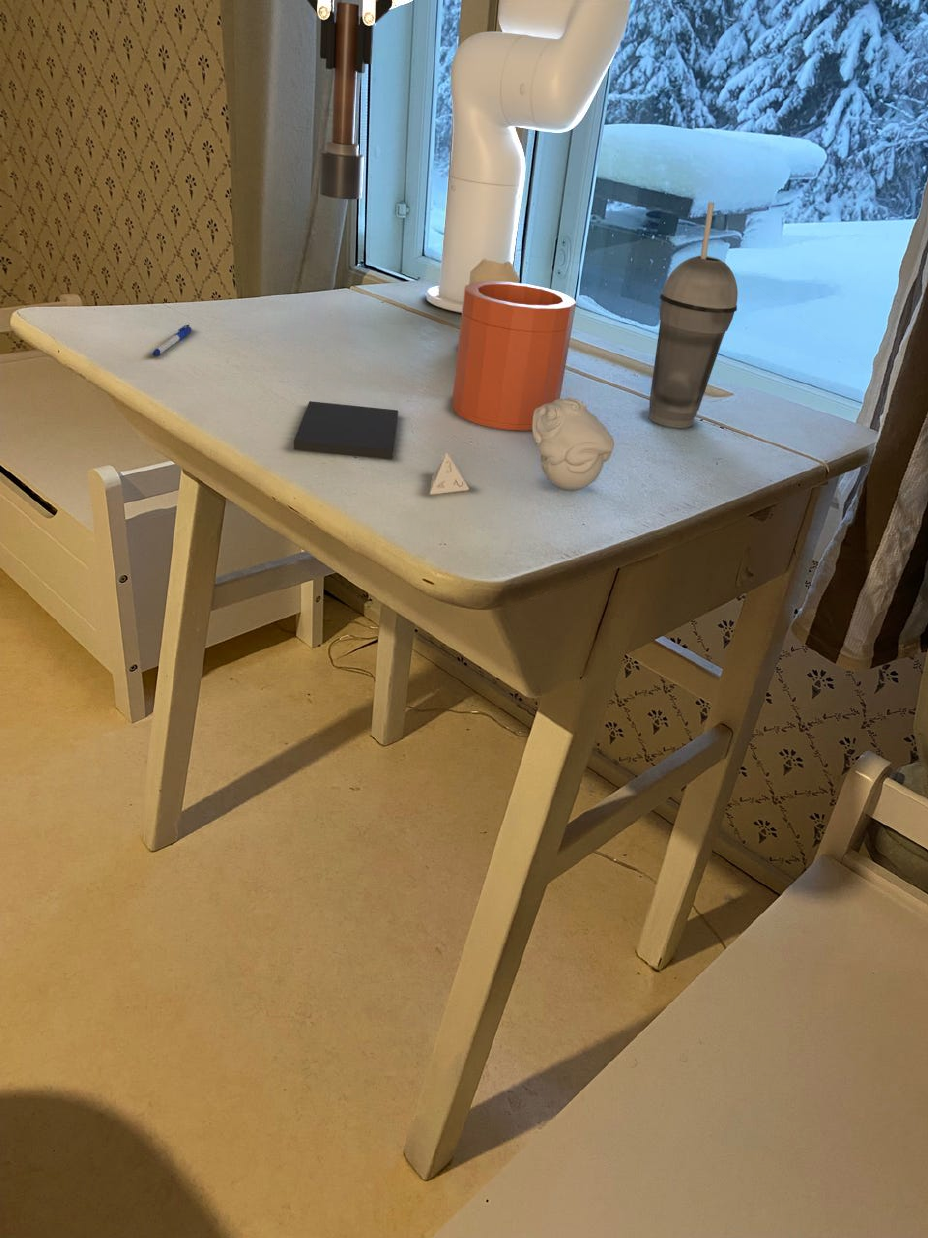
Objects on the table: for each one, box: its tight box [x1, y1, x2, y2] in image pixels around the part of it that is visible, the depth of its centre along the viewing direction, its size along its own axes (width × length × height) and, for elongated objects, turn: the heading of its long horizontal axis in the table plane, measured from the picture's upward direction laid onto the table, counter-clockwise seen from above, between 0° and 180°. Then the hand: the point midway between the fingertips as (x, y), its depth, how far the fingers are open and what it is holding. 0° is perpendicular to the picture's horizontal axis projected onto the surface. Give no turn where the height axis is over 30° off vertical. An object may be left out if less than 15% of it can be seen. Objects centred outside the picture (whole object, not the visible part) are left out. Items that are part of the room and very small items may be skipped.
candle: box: [469, 259, 521, 284], centre depth 105 cm, size 6×6×10 cm
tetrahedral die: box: [429, 452, 470, 496], centre depth 71 cm, size 4×3×3 cm
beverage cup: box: [647, 201, 739, 429], centre depth 88 cm, size 7×7×20 cm
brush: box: [319, 1, 365, 200], centre depth 94 cm, size 4×4×17 cm
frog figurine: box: [531, 397, 615, 491], centre depth 73 cm, size 6×7×7 cm
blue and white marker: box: [152, 324, 192, 357], centre depth 96 cm, size 10×1×1 cm, turn 177°
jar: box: [451, 281, 577, 432], centre depth 87 cm, size 10×10×11 cm
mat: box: [293, 400, 399, 460], centre depth 80 cm, size 10×8×1 cm
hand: (345, 68), depth 92 cm, fingers closed on brush, 2 cm apart
